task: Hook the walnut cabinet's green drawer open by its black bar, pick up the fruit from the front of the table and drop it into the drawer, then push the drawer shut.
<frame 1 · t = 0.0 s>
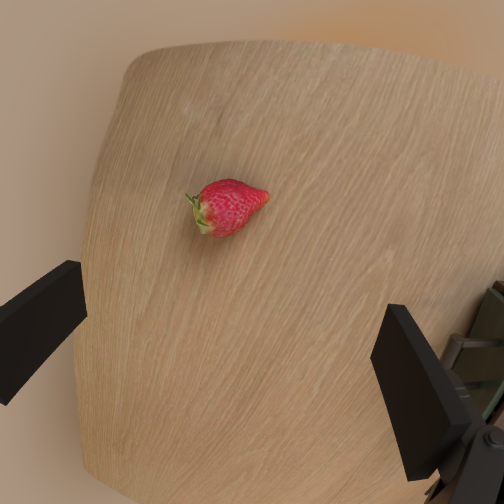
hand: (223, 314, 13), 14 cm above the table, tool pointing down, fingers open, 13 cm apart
fruit: (234, 201, 26), on the table
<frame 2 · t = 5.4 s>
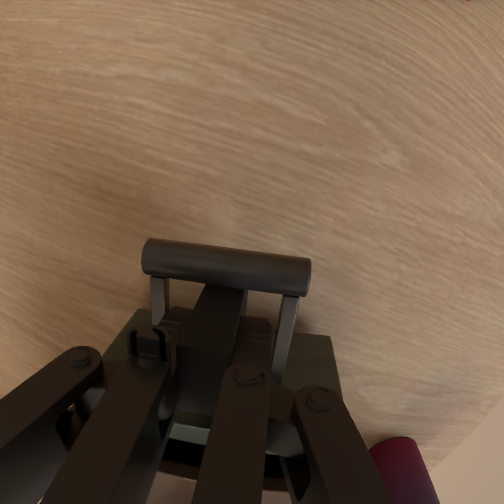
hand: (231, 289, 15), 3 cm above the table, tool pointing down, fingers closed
drawer: (217, 416, 16), point 5 cm above the table, slide at 1.7 cm, touching gripper
cup: (389, 452, 23), on the table
cabinet: (224, 424, 23), on the table
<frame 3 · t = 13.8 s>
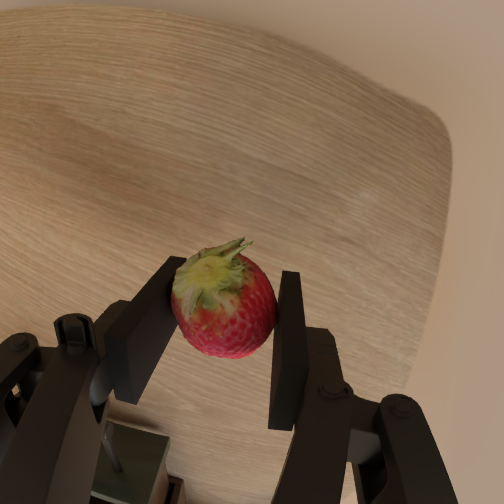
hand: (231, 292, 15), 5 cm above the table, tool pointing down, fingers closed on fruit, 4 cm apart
drawer: (104, 472, 22), point 5 cm above the table, slide at 8.4 cm
fruit: (233, 287, 15), point 4 cm above the table, touching gripper
cabinet: (139, 492, 31), on the table
when the fingers open (9 cm above the table, at t = 20.5 s): fruit moves 1 cm, resting on drawer.
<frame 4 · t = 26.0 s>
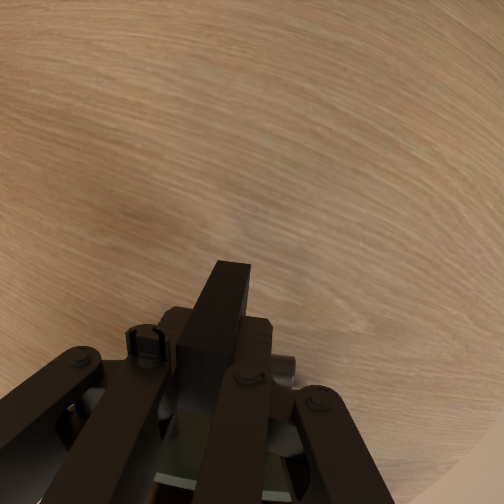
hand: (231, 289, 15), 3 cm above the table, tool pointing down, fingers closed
drawer: (219, 460, 17), point 5 cm above the table, slide at 7.3 cm, touching fruit, gripper
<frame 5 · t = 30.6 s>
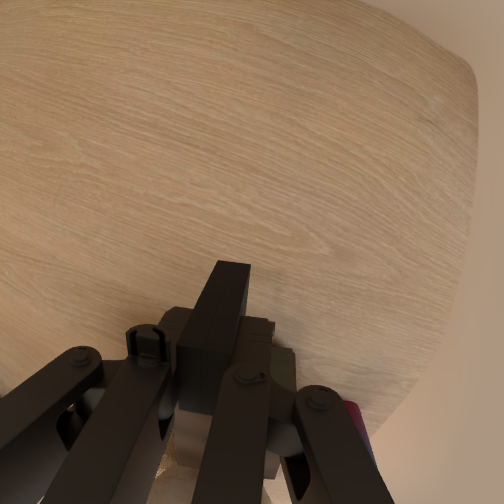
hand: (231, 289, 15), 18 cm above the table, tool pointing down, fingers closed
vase: (218, 465, 48), on the table
drawer: (236, 387, 34), point 5 cm above the table, slide at 0.0 cm, touching fruit
cup: (341, 411, 41), on the table
cabinet: (238, 388, 40), on the table
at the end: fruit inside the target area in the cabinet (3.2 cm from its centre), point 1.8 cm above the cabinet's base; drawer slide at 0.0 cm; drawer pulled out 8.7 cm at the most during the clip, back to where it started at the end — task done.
